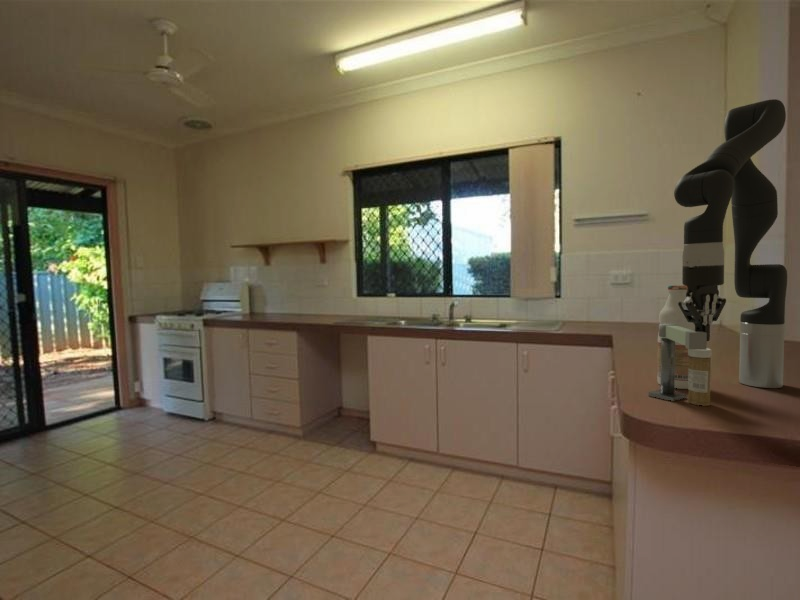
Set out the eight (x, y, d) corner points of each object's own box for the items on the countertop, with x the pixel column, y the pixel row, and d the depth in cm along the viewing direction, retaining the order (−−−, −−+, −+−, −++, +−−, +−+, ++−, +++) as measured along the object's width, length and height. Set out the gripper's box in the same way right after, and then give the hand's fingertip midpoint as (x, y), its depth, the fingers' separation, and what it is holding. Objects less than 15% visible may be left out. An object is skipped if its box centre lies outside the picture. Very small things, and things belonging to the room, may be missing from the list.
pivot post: (661, 392, 111) (662, 336, 110) (686, 397, 105) (687, 338, 105) (648, 395, 108) (649, 338, 107) (673, 401, 103) (674, 341, 102)
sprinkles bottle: (713, 404, 100) (715, 348, 99) (705, 407, 98) (706, 350, 97) (692, 399, 104) (693, 345, 103) (683, 403, 101) (684, 348, 101)
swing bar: (656, 336, 108) (656, 322, 108) (674, 336, 107) (674, 322, 107) (686, 349, 89) (687, 332, 89) (708, 349, 88) (708, 332, 88)
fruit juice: (649, 383, 120) (650, 285, 119) (673, 379, 123) (674, 284, 122) (680, 391, 111) (682, 286, 110) (705, 387, 115) (707, 285, 113)
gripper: (705, 263, 99) (704, 336, 100) (665, 265, 94) (665, 341, 95) (740, 262, 92) (739, 340, 93) (700, 264, 87) (699, 346, 88)
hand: (702, 341), depth 94 cm, fingers closed
